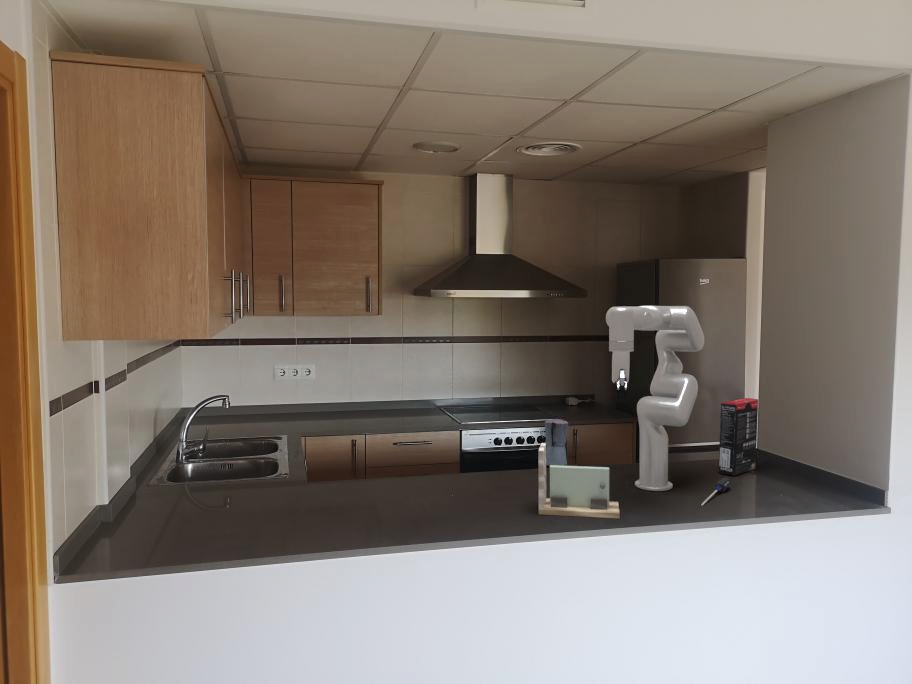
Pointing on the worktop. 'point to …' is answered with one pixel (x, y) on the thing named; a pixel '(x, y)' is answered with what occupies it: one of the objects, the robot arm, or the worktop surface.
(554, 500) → the hinge base
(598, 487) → the door
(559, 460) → the moka pot
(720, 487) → the screwdriver
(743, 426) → the graphics card box
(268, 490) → the worktop surface
